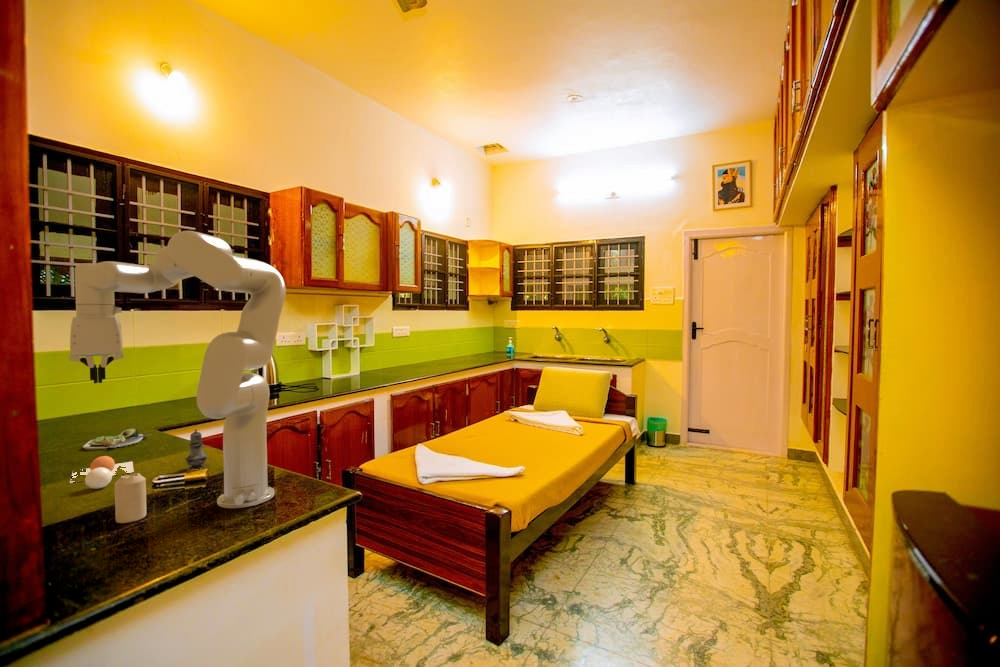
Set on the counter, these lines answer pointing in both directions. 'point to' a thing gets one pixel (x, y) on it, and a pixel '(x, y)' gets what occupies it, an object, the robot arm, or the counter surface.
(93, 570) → the counter surface
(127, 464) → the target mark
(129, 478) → the candle
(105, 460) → the object ball
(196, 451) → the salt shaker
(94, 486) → the cue ball
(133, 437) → the salad plate
